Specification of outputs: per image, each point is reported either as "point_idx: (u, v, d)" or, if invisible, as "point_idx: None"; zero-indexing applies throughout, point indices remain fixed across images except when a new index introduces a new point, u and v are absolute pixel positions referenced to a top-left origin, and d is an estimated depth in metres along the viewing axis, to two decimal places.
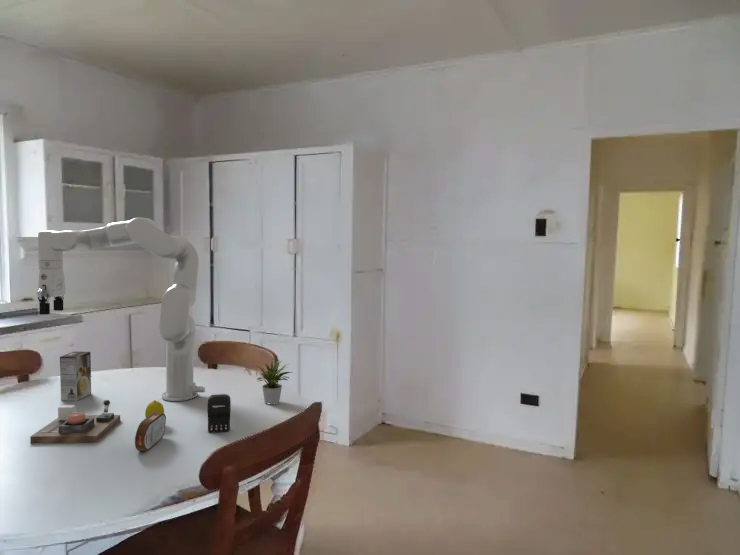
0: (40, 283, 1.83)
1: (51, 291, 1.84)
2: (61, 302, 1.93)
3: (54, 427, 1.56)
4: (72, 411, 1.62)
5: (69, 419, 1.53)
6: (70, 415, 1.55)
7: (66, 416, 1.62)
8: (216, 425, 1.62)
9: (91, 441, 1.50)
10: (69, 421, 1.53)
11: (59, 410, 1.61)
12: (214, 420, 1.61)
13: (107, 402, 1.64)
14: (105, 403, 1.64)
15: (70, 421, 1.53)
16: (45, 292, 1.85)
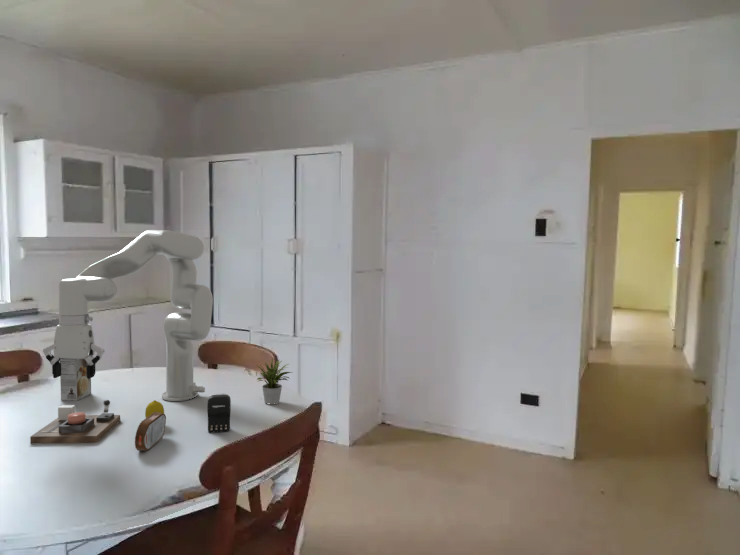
0: (88, 342, 1.54)
1: None
2: (60, 365, 1.57)
3: (54, 427, 1.56)
4: (72, 411, 1.62)
5: (69, 419, 1.53)
6: (70, 415, 1.55)
7: (66, 416, 1.62)
8: (216, 425, 1.62)
9: (91, 441, 1.50)
10: (69, 421, 1.53)
11: (59, 410, 1.61)
12: (214, 420, 1.61)
13: (107, 402, 1.64)
14: (105, 403, 1.64)
15: (70, 421, 1.53)
16: None
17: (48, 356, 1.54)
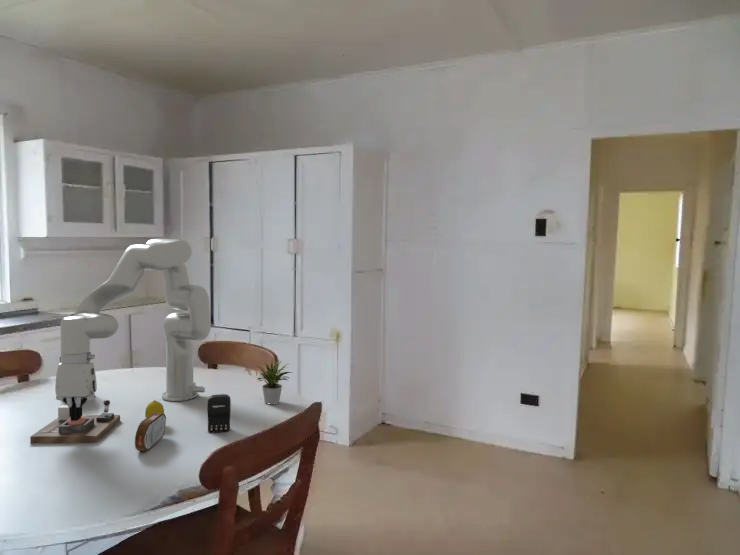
0: (91, 380, 1.54)
1: None
2: None
3: (54, 427, 1.56)
4: None
5: (69, 423, 1.53)
6: (70, 419, 1.55)
7: (66, 416, 1.62)
8: (216, 425, 1.62)
9: (91, 441, 1.50)
10: None
11: (59, 410, 1.61)
12: (214, 420, 1.61)
13: (107, 402, 1.64)
14: (105, 403, 1.64)
15: None
16: None
17: (65, 399, 1.54)
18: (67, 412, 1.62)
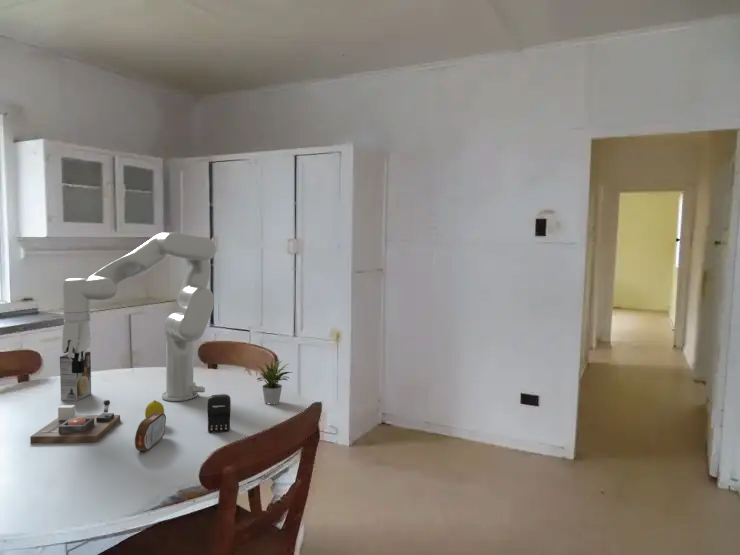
0: None
1: None
2: None
3: (54, 427, 1.56)
4: (72, 411, 1.62)
5: None
6: (70, 421, 1.55)
7: (66, 416, 1.62)
8: (216, 425, 1.62)
9: (91, 441, 1.50)
10: None
11: (59, 410, 1.61)
12: (214, 420, 1.61)
13: (107, 402, 1.64)
14: (105, 403, 1.64)
15: None
16: None
17: (76, 355, 1.67)
18: (67, 412, 1.62)
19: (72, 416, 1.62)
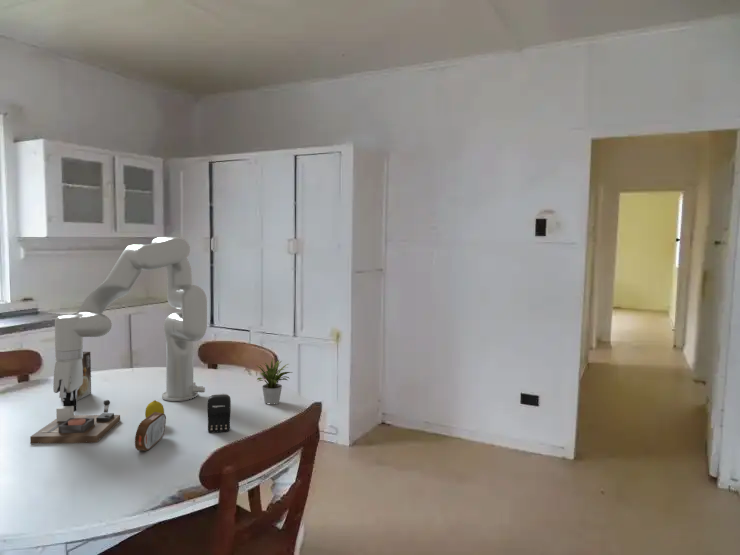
0: None
1: None
2: None
3: (54, 427, 1.56)
4: (70, 412, 1.61)
5: None
6: (70, 421, 1.55)
7: (64, 417, 1.61)
8: (216, 425, 1.62)
9: (91, 441, 1.50)
10: None
11: (57, 411, 1.60)
12: (214, 420, 1.61)
13: (107, 402, 1.64)
14: (105, 403, 1.64)
15: None
16: None
17: (68, 394, 1.62)
18: (65, 413, 1.61)
19: (70, 417, 1.61)
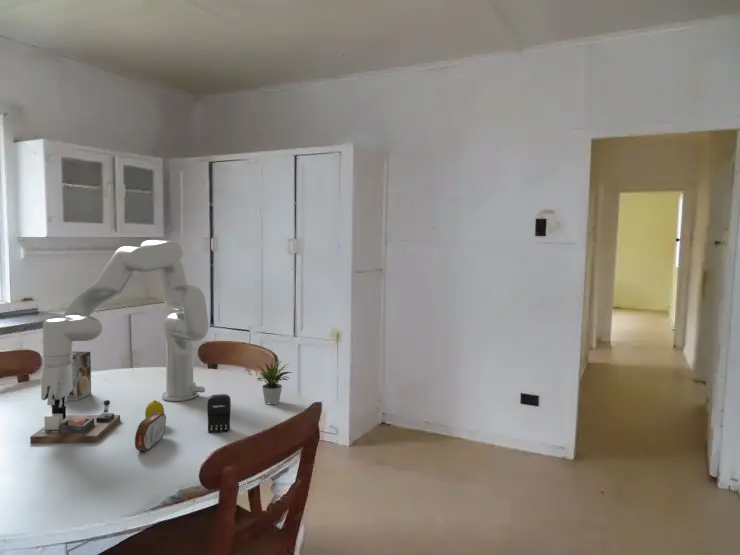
0: None
1: None
2: None
3: None
4: (59, 420, 1.54)
5: None
6: (70, 421, 1.55)
7: (53, 425, 1.54)
8: (216, 425, 1.62)
9: (91, 441, 1.50)
10: None
11: (45, 419, 1.53)
12: (214, 420, 1.61)
13: (107, 402, 1.64)
14: (105, 403, 1.64)
15: None
16: None
17: (57, 402, 1.55)
18: (54, 421, 1.54)
19: (59, 425, 1.54)
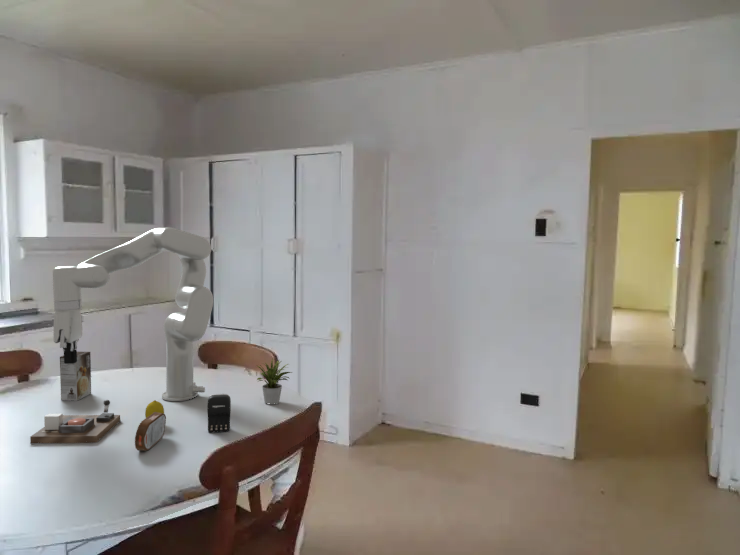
0: None
1: None
2: None
3: None
4: (59, 420, 1.54)
5: None
6: (70, 421, 1.55)
7: (53, 425, 1.54)
8: (216, 425, 1.62)
9: (91, 441, 1.50)
10: None
11: (45, 419, 1.53)
12: (214, 420, 1.61)
13: (107, 402, 1.64)
14: (105, 403, 1.64)
15: None
16: None
17: (69, 345, 1.63)
18: (54, 421, 1.54)
19: (59, 425, 1.54)
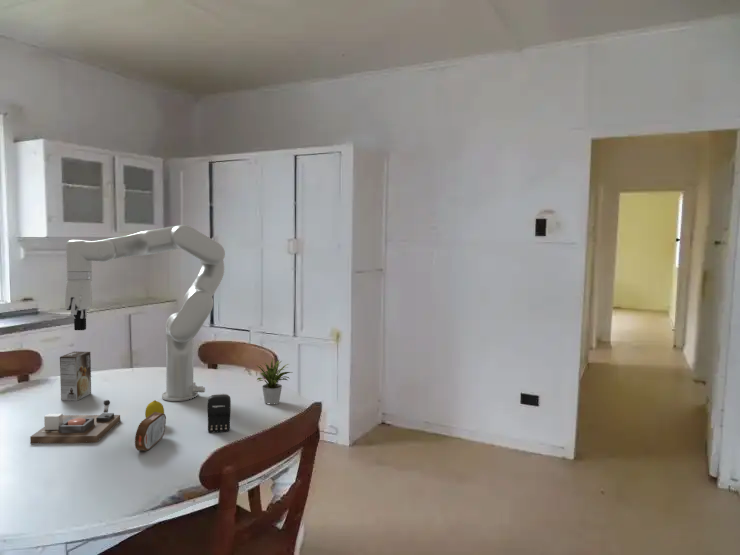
0: None
1: None
2: None
3: None
4: (59, 420, 1.54)
5: None
6: (70, 421, 1.55)
7: (53, 425, 1.54)
8: (216, 425, 1.62)
9: (91, 441, 1.50)
10: None
11: (45, 419, 1.53)
12: (214, 420, 1.61)
13: (107, 402, 1.64)
14: (105, 403, 1.64)
15: None
16: None
17: (79, 312, 1.76)
18: (54, 421, 1.54)
19: (59, 425, 1.54)
